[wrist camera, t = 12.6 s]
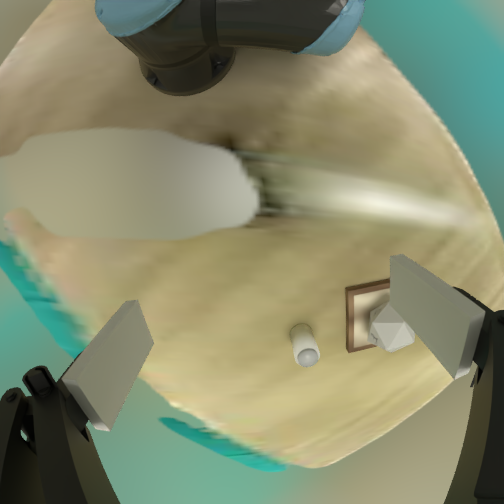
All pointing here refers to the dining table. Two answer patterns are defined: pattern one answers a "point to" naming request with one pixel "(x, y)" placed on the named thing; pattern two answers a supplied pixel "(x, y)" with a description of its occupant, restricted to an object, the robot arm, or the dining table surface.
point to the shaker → (304, 345)
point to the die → (389, 329)
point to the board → (363, 312)
